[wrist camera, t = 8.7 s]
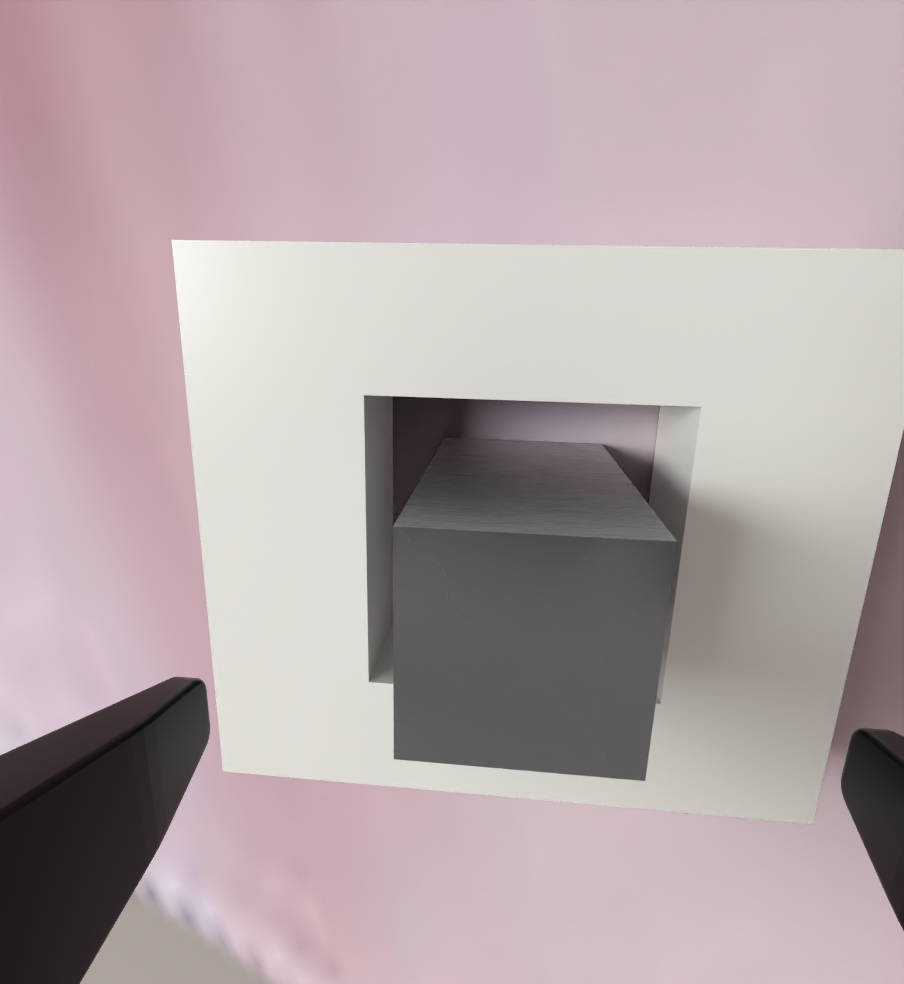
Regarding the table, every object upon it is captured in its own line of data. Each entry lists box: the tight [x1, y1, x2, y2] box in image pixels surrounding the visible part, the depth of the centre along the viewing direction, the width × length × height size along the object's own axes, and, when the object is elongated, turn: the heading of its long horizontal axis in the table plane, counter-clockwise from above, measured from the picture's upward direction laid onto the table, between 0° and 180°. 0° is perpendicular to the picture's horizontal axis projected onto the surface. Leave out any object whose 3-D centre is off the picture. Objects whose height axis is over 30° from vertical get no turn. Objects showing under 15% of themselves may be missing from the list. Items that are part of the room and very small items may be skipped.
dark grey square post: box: [393, 438, 677, 781], centre depth 14 cm, size 4×4×8 cm
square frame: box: [172, 240, 904, 824], centre depth 16 cm, size 16×14×4 cm
